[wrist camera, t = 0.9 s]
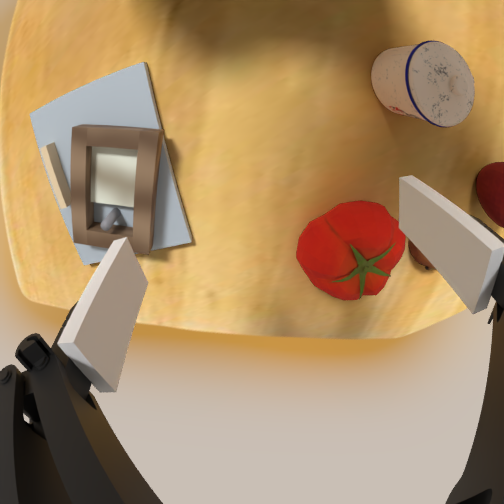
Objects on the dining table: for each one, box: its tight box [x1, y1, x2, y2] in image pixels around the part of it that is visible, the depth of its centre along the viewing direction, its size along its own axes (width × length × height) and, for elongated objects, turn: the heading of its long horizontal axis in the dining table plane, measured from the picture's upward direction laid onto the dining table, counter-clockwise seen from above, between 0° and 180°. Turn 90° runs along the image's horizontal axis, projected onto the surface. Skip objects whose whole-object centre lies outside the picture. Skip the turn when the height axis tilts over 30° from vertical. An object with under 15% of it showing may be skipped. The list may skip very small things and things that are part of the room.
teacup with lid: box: [371, 41, 474, 127], centre depth 23 cm, size 12×9×12 cm
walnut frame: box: [70, 124, 164, 255], centre depth 30 cm, size 14×10×2 cm
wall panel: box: [30, 62, 192, 265], centre depth 29 cm, size 22×16×5 cm
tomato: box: [296, 201, 406, 300], centre depth 35 cm, size 14×13×9 cm
